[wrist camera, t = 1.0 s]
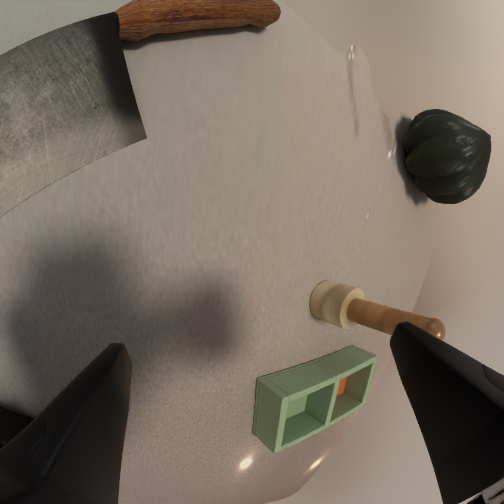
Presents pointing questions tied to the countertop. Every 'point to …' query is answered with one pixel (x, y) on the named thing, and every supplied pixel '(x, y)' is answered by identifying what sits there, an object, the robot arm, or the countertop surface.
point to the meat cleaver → (89, 88)
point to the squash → (446, 155)
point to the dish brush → (364, 311)
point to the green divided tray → (311, 396)
